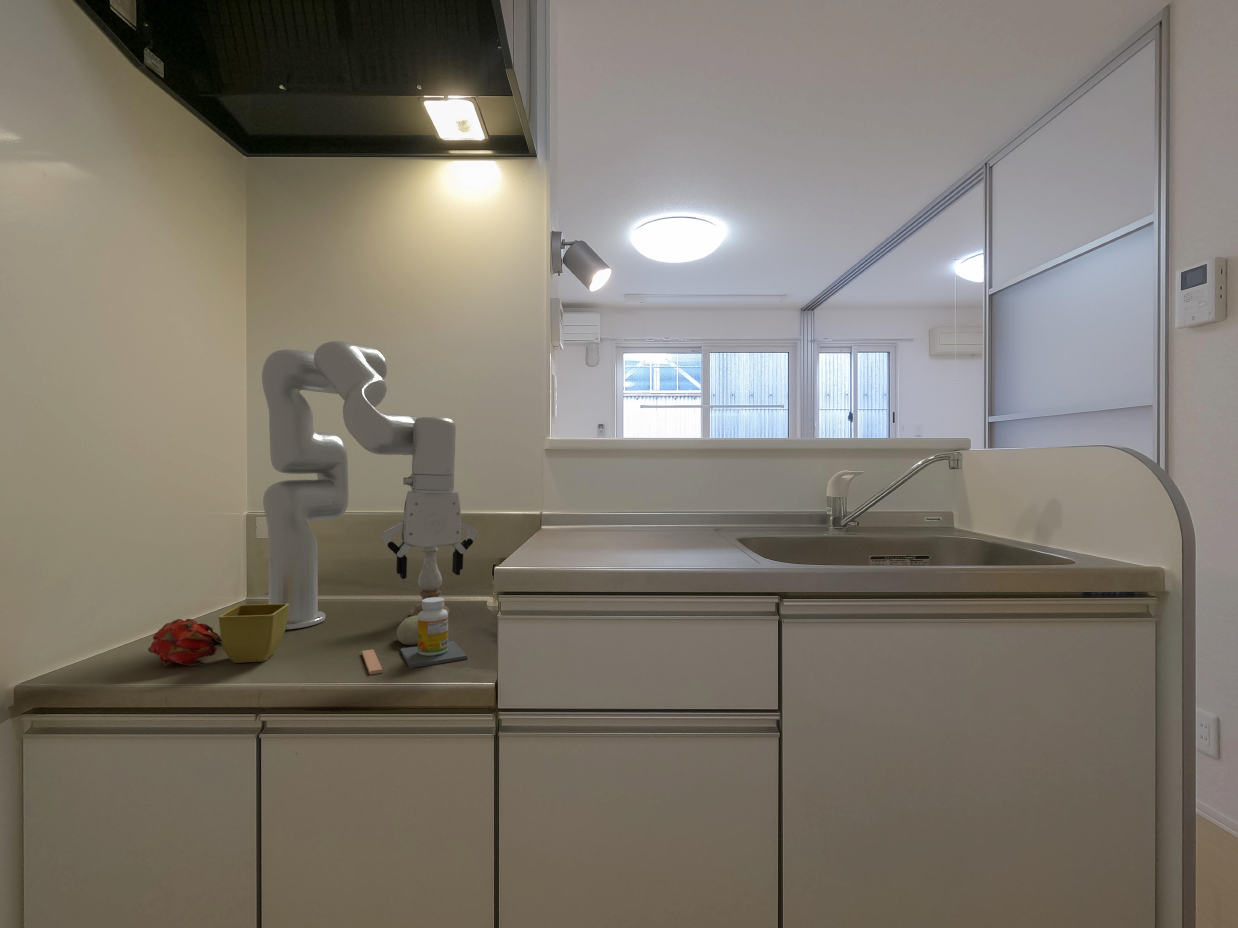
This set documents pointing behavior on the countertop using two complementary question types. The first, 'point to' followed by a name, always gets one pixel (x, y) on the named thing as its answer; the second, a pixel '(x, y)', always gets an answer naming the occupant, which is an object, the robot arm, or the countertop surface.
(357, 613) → the countertop surface
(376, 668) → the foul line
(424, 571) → the candle holder
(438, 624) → the supplement bottle
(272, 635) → the flower pot
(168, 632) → the dragon fruit
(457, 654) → the pad
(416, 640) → the sea urchin shell
